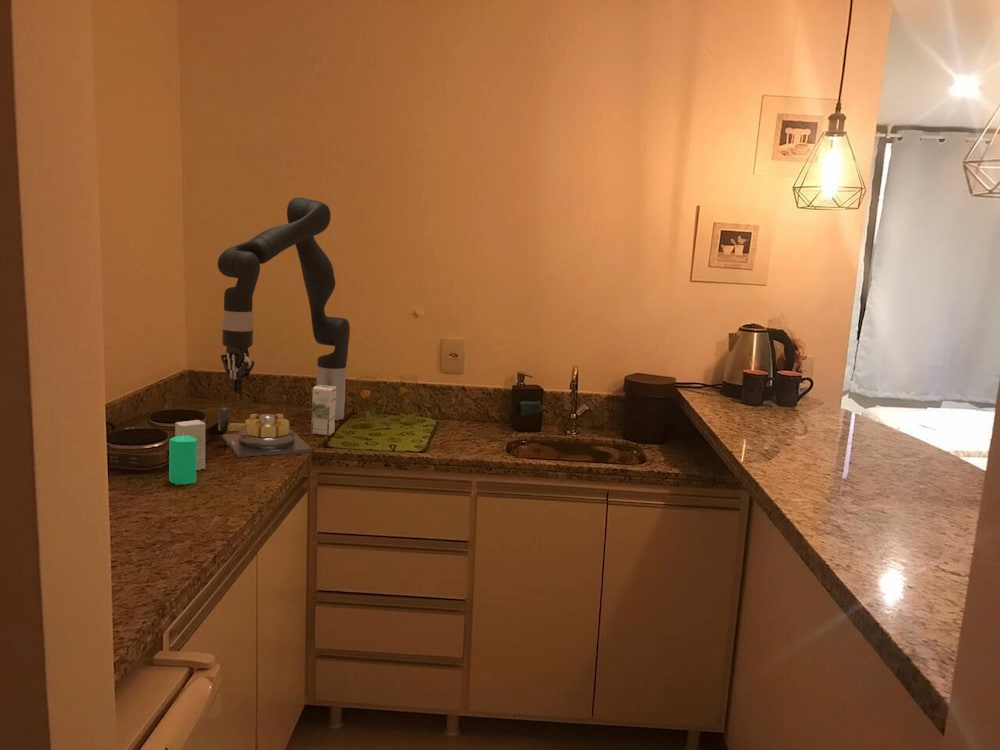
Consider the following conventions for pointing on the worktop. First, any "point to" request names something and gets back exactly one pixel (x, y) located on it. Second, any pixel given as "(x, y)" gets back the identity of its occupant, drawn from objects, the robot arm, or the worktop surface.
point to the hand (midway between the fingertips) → (236, 392)
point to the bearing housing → (266, 442)
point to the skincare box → (196, 431)
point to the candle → (182, 459)
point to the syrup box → (323, 410)
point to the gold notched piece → (254, 425)
